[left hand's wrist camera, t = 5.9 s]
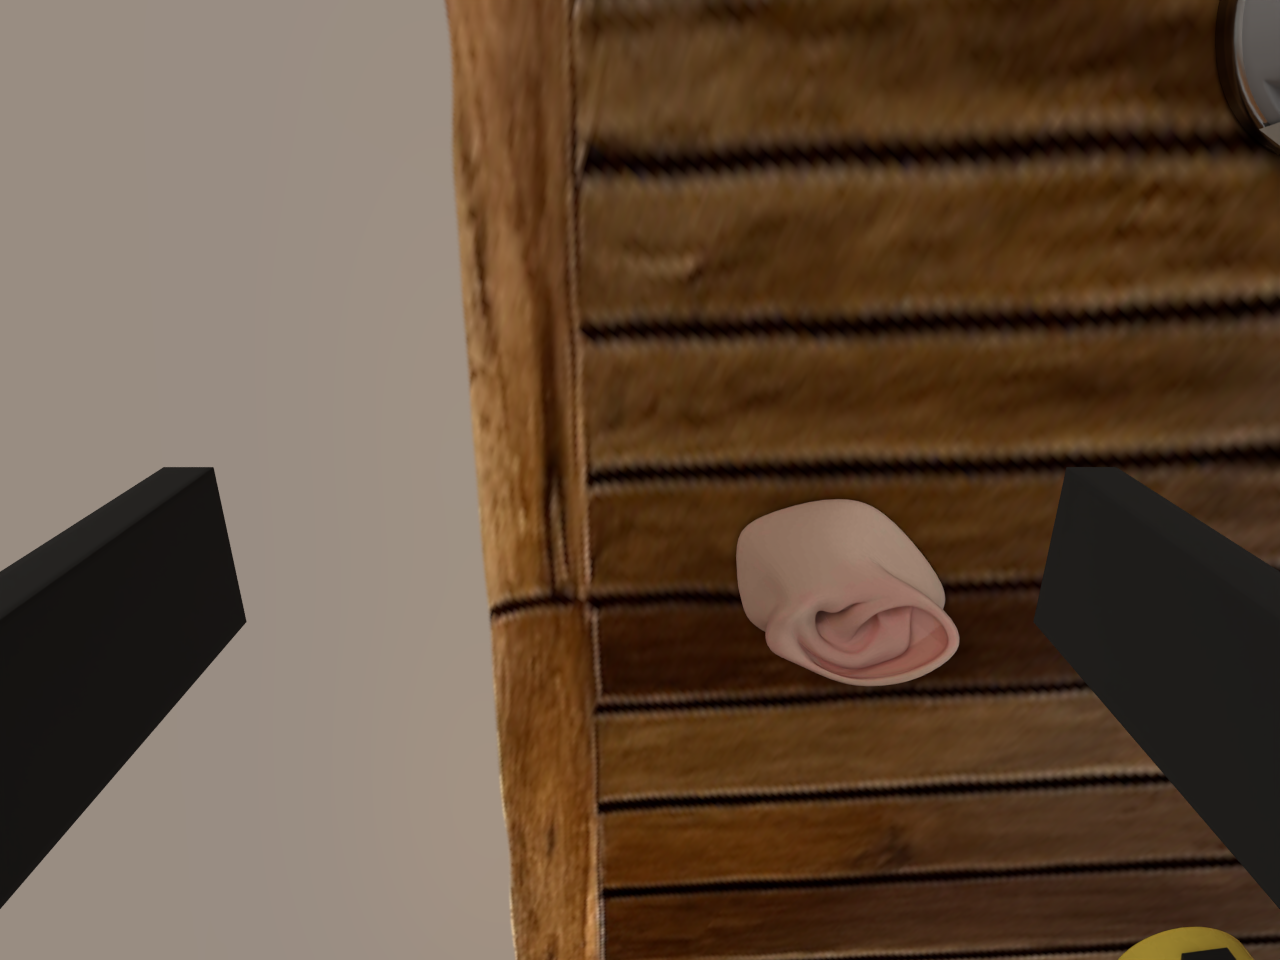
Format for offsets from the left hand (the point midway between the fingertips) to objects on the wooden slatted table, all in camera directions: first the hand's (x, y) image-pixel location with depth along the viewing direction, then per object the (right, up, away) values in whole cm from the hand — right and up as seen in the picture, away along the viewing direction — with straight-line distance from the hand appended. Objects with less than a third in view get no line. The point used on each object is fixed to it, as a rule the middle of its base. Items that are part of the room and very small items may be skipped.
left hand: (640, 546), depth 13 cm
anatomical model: (+12, -6, +38) cm, 40 cm away
